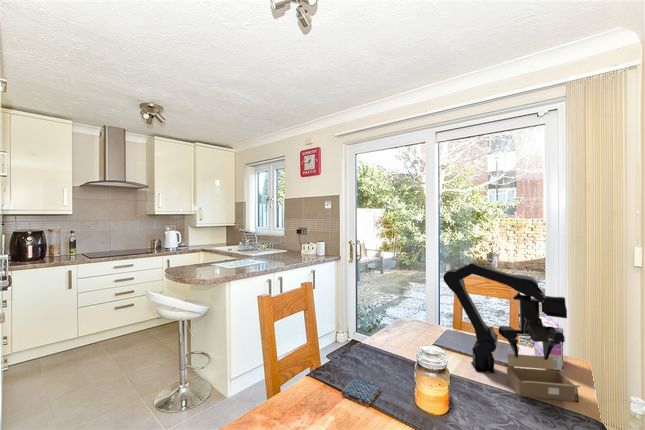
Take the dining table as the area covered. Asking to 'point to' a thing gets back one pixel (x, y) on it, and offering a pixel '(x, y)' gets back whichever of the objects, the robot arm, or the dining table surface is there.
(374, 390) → the woven mat
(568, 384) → the front flap
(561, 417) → the dining table surface
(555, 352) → the candy box
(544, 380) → the carton
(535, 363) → the back flap
